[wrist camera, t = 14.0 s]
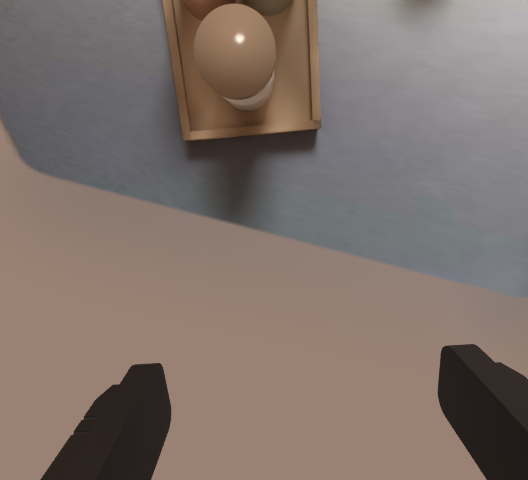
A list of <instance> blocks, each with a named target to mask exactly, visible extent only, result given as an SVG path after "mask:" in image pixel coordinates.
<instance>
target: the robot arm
mask: <svg viewBox="0 0 528 480" xmlns="http://www.w3.org/2000/svg"><path fill="white" fill-rule="evenodd" d="M438 398H439V403H440V406H441V409H442V411H443V413H444V415H445V417H446V418H447V420H448V421H449V423H450V424H451V426H452V428H453V429H454V430H455V432H456V434H457V435H458V437H459V438H460V440H461V441H462V443H463V444H464V446H465V447H466V449H467V450H468V452H469V453H470V455H471V456H472V458H473V459H474V461H475V462H476V464H477V465H478V467H479V468H480V470H481V472H482V473H483V474H484V476H485V477H486V479H487V480H528V379H527V378H526V377H525V376H523V375H522V374H520V373H518V372H516V371H515V370H513V369H511V368H509V367H508V366H505V365H504V364H502V363H499V362H498V363H495V362H494V361H493V360H492V359H491V358H490V357H489V356H487V354H485V353H484V352H483V351H482V350H481V349H480V348H479V347H478V346H476V345H474V344H469V345H468V344H467V345H451V346H444V347H443V348H442V351H441V359H440V370H439V383H438ZM170 421H171V404H170V400H169V394H168V390H167V385H166V380H165V375H164V370H163V367H162V365H161V364H160V363H153V364H138V365H137V364H136V365H132V366H131V367H130V369H129V370H128V372H127V374H126V375H125V377H124V378H123V380H122V381H121V383H120V384H119V385H112V386H111V387H110V388H109V389H107V390H106V391H105V392H104V393H103V394H102V395H100V396H99V397H98V398H97V399H96V400H95V401H94V403H93V404H92V406H91V407H90V409H89V410H88V412H87V413H86V414H85V416H84V420H81V422H80V423H79V425H78V426H77V427H76V429H75V430H74V434H73V435H71V436H70V438H69V439H68V441H67V442H66V443H65V445H64V447H63V448H62V449H61V451H60V452H59V454H58V455H57V457H56V458H55V460H54V461H53V462H52V464H51V465H50V467H49V468H48V469H47V471H46V472H45V474H44V475H43V477H42V478H41V480H151V478H152V475H153V473H154V470H155V467H156V464H157V461H158V459H159V456H160V453H161V450H162V447H163V445H164V442H165V439H166V436H167V433H168V430H169V427H170Z"/></svg>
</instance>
